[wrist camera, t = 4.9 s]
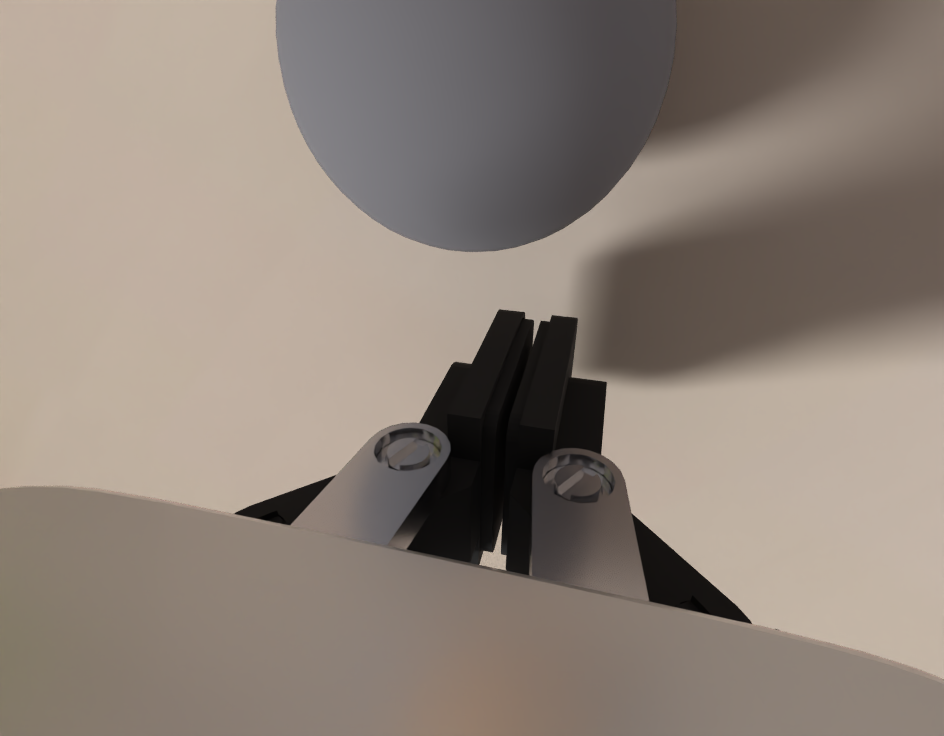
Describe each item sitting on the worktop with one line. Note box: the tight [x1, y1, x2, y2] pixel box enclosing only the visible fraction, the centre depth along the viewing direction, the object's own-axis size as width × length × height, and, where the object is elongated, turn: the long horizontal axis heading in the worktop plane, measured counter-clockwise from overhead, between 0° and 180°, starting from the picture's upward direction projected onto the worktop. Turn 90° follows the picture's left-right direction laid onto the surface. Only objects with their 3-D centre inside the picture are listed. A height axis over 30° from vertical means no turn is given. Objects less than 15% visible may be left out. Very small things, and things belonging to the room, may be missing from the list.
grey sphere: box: [276, 0, 677, 252], centre depth 8 cm, size 6×6×6 cm
